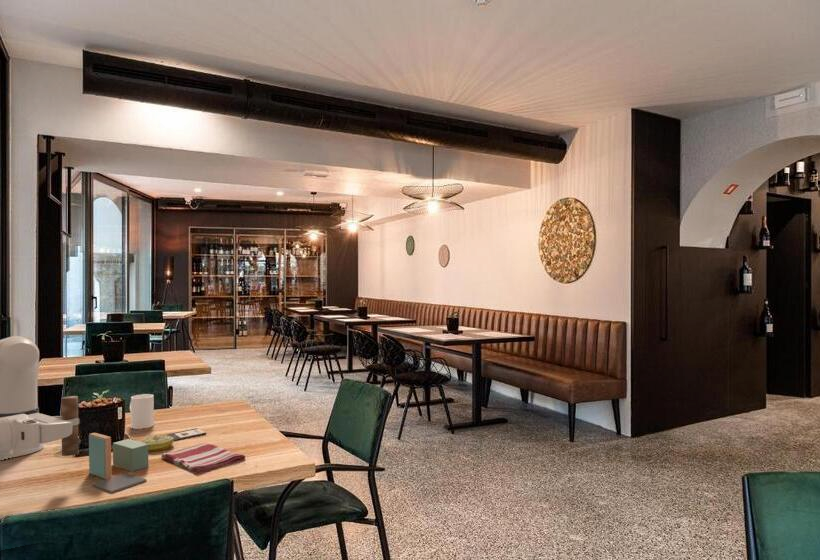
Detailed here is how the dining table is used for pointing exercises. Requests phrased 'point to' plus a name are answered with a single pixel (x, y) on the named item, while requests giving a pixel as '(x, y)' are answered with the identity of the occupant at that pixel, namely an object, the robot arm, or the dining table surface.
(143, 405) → the mug
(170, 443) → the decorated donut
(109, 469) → the tile
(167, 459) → the dish towel
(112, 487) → the coaster
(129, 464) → the sage green block
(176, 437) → the chocolate bar
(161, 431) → the dining table surface
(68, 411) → the dowel
